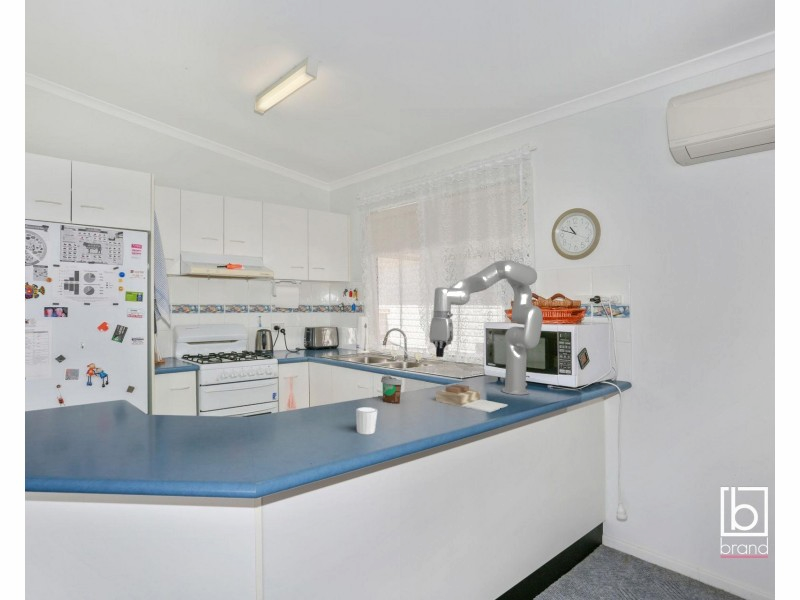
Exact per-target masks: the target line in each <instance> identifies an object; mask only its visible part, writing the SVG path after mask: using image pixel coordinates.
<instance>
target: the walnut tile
mask: <svg viewBox="0 0 800 600" xmlns="http://www.w3.org/2000/svg"><path fill="white" fill-rule="evenodd" d="M445 389H446V392H451V393H456V394H459V393H463V392H467V391H469V389H470V386H468V385H463V384H452V385H449V386H446V387H445Z"/></svg>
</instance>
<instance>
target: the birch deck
mask: <svg viewBox="0 0 800 600" xmlns="http://www.w3.org/2000/svg"><path fill="white" fill-rule="evenodd" d="M435 393H436V395H435V401H436V402H438V401H439V402H438V403H442V402H443V403H444V404H447V405H453V406H458V407H462V405H464V404H467V403H470V402H473V401H477V400H480V399H481V391H479V390H475V389H470V388H469V391H467V392H463V393H459V394H456V393H451V392H446V388H445V389H443V390H438V391H436V392H435Z"/></svg>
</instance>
